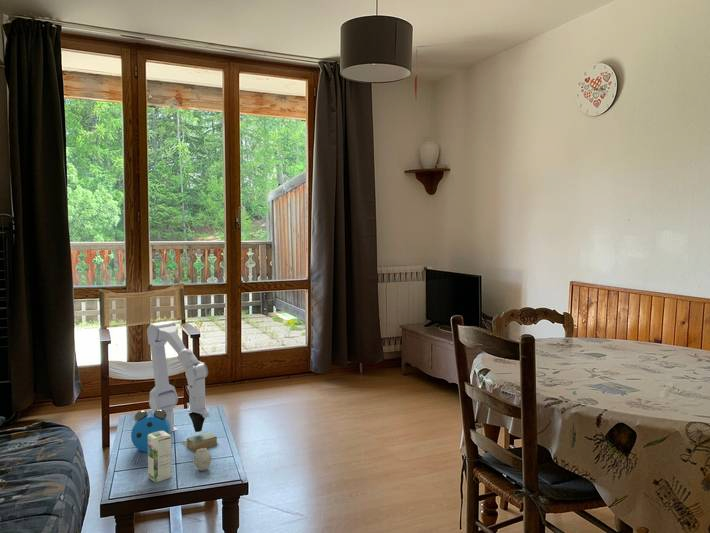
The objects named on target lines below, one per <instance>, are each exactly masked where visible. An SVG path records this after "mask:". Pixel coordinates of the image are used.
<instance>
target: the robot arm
mask: <svg viewBox="0 0 710 533" xmlns="http://www.w3.org/2000/svg"><path fill="white" fill-rule="evenodd" d="M178 329H179V328H178V326H177V324H176V322H174V321H173V320H170V321H165V322H159V323H150V324H149V326H148V327H147V329H146V334H147V342H148V345H150V353H151V361H152V370H153V376H154V387H153V388H152V389H151V390H150V391H149V399H148V404H149V405H148V406H149V407H150V409H151V411H152V412H155V410H157V409H163V410H164V411H166V413H167V419H168V420H169V422H170V426H171V432H170V433H172V432H176V431H178V430H179V429H178V428H176V427H175V422H174V421H175V419H174V418H175V417H174V415H175V414H174V408H176V405H177V404H178V400H179V397H178V394H177V391H176V387H175V386H173V385H172V384H170V381H169V380H170V379H169V372H168V366H167V365H168V364H167V356H166V348H165V347H166V346H165V345H166V344H167V343H168V344H169V345H170V346H171V347H172V349H173V350H174V351H175V352H176V354H177V360H178V362H179V363H180V364H181V366H182V367H183V368H184V370H185V372H184V373H185V378H186V381H187V385H188V391H189V393H188V396H189V397H188V398H189V402H186V407H187V409H186V412H188V416H189V418H190V420H191V423H192V426H193V429H194V432H195V433H199V432H202V431H203V427H204V423H205V419H206V418H209V417H210V412H209V410H208V408H207V405H206V379H205V378H207V376H208V375H209V370H208V369H209V368H208V366H207V364H206V363H205V362H202V361H201V360H198V358H197V356H196V355H195V353H193V351H192V350H191V349H189V348H187V347H186V346H185V344H184V341H182V339H181V337H180V336H179V333H178V332H179V330H178Z"/></svg>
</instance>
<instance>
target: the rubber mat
mask: <svg viewBox="0 0 710 533" xmlns="http://www.w3.org/2000/svg"><path fill="white" fill-rule="evenodd" d="M180 444H181V445H183V446H184V447H185V448H187V449H188V450H190V451H191V452H192V453H196V451H197V450H195V451H194V450H192V449H191V448H189V447H188V446H187V440H185V441H180ZM219 445H220V443H218V442H217V444H216V445H213V446H209V447H206V448H207V449H210V448H211V447H216V446H219ZM203 449H204V448H203Z"/></svg>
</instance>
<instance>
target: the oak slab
mask: <svg viewBox="0 0 710 533" xmlns="http://www.w3.org/2000/svg"><path fill="white" fill-rule="evenodd" d="M186 441H187V446H188V447H189V448H191V449H192V450H194V451H195V450H198V449H201V448H206V447H209V446H213V445H216V444H217V443H218V437H217V435H215V434H213V433H212V432H210V431H208V432H204V433H200V434H196V435H192V436H190V437H186ZM216 446H217V445H216ZM213 447H214V446H213ZM209 448H210V447H209Z"/></svg>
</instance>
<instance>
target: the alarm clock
mask: <svg viewBox="0 0 710 533" xmlns="http://www.w3.org/2000/svg"><path fill="white" fill-rule="evenodd" d="M152 411H153V410H150V411H148V412H147V411H146V410H144V409H141V410H138V411H137V412H136V413H135V414H134V417H133V419H134V420H133V421H135V423H134V425H133V426H132V429H131V432H130V433H131V434H130V438H131V439H130V440H131V443H132V444H133V446H134V447H135V448H136V449H138V450H139V451H141V452H144V453H148V434H151V433H154V432H158V431H165V432H166V433H168V434H169V435H171V433H172V432H171V426H170V422H169V420H168V419H167V413H166V411H164V410H163V409H157V410H155V412H152Z"/></svg>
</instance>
